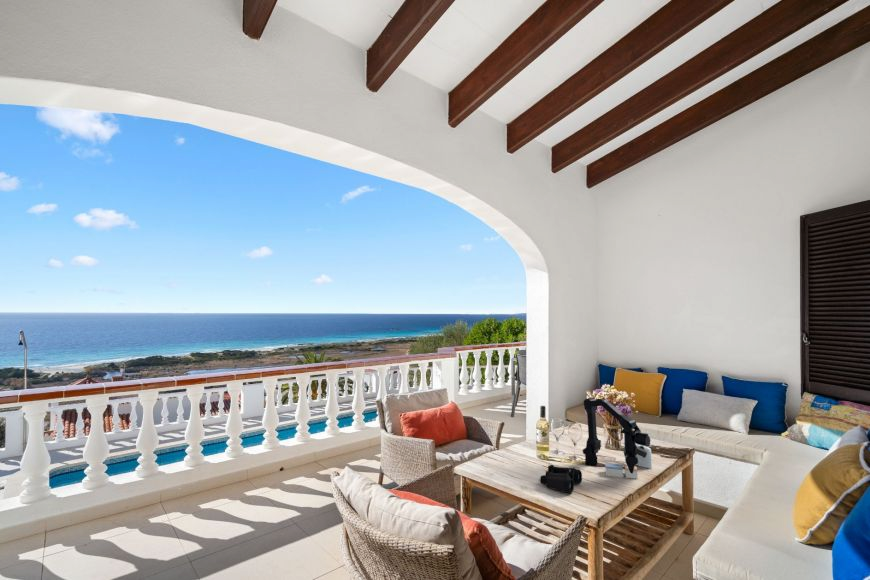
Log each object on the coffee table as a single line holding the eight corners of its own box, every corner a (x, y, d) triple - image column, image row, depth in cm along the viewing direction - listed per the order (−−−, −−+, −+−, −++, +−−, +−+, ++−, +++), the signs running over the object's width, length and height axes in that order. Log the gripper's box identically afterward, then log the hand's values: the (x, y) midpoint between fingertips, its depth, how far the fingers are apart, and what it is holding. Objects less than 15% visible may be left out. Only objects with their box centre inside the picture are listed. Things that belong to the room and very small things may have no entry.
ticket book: (605, 475, 231) (605, 466, 232) (605, 471, 237) (605, 462, 237) (624, 477, 228) (624, 468, 228) (624, 473, 234) (623, 464, 234)
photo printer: (653, 467, 242) (652, 446, 243) (650, 469, 239) (649, 448, 240) (635, 463, 250) (634, 442, 250) (632, 464, 247) (631, 444, 247)
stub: (625, 477, 228) (625, 468, 228) (625, 474, 233) (624, 464, 233) (637, 478, 226) (637, 469, 226) (636, 475, 231) (636, 466, 231)
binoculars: (569, 496, 206) (569, 476, 206) (535, 487, 217) (535, 467, 218) (585, 482, 222) (584, 463, 223) (552, 474, 234) (552, 456, 235)
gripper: (647, 448, 219) (649, 478, 218) (643, 438, 236) (644, 466, 236) (625, 446, 223) (626, 475, 222) (622, 436, 240) (623, 463, 240)
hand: (630, 470), depth 230 cm, fingers open, 9 cm apart
